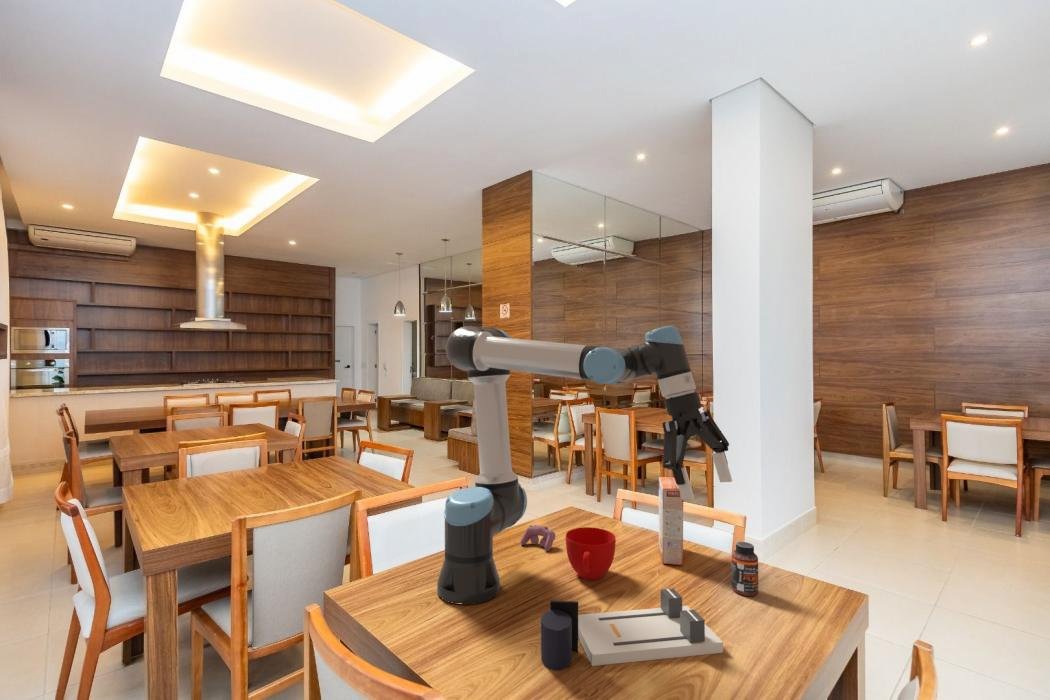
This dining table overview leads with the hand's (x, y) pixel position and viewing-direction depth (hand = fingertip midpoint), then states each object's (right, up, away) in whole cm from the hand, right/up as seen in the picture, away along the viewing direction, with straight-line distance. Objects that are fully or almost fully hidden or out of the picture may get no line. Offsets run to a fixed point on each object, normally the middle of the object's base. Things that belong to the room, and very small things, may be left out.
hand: (708, 490), depth 106 cm
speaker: (-33, -28, -15) cm, 46 cm away
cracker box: (+2, -29, +34) cm, 45 cm away
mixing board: (-16, -28, -7) cm, 33 cm away
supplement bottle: (+14, -28, +13) cm, 34 cm away
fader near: (-7, -25, -10) cm, 28 cm away
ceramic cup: (-23, -28, +20) cm, 42 cm away
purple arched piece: (-36, -29, +41) cm, 61 cm away
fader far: (-8, -26, -2) cm, 27 cm away
